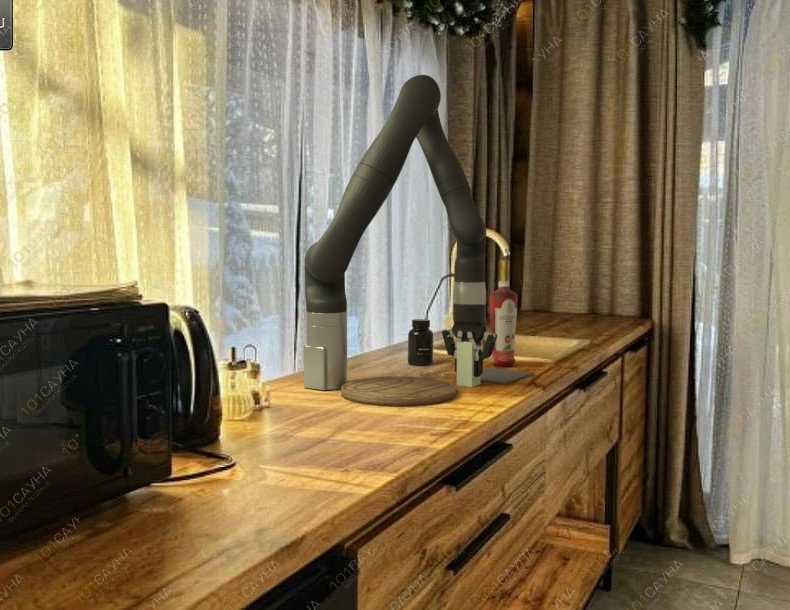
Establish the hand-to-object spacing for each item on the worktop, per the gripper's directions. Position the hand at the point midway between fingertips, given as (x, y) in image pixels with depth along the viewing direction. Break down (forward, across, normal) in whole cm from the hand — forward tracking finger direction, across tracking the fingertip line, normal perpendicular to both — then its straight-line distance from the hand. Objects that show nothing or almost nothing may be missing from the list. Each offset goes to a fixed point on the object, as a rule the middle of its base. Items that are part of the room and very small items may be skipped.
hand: (468, 375), depth 175 cm
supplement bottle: (+2, -25, +17) cm, 30 cm away
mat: (+2, 0, +13) cm, 13 cm away
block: (+2, 0, 0) cm, 2 cm away
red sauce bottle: (+2, -6, +28) cm, 29 cm away
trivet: (+3, -7, -18) cm, 20 cm away
